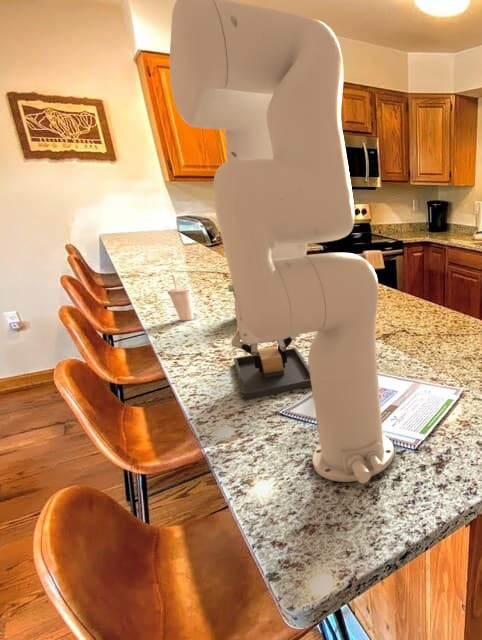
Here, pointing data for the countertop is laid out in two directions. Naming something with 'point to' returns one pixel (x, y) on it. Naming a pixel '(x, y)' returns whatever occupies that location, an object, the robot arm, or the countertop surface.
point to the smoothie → (182, 301)
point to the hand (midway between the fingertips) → (271, 367)
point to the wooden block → (271, 362)
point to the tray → (260, 386)
